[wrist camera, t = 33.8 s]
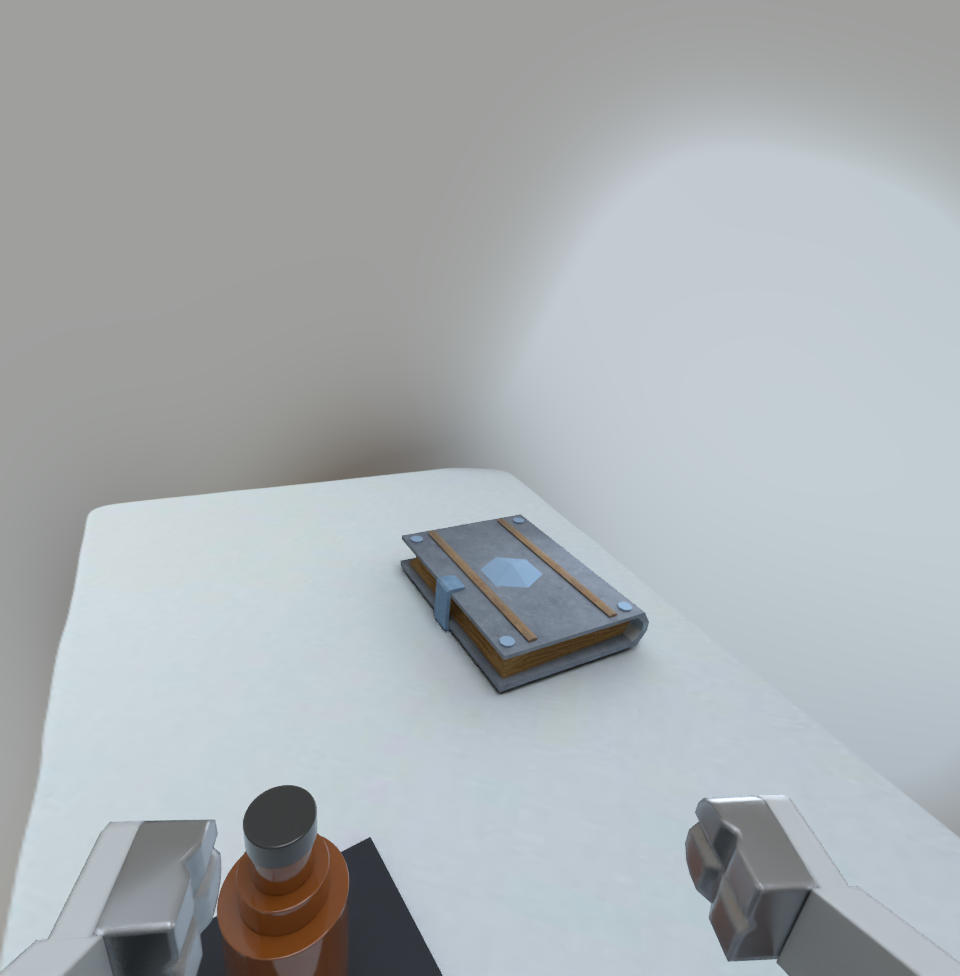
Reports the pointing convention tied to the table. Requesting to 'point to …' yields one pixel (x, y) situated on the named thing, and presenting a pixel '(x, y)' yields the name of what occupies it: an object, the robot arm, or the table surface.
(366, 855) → the mat
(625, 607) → the book
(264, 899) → the bottle
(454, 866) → the table surface
